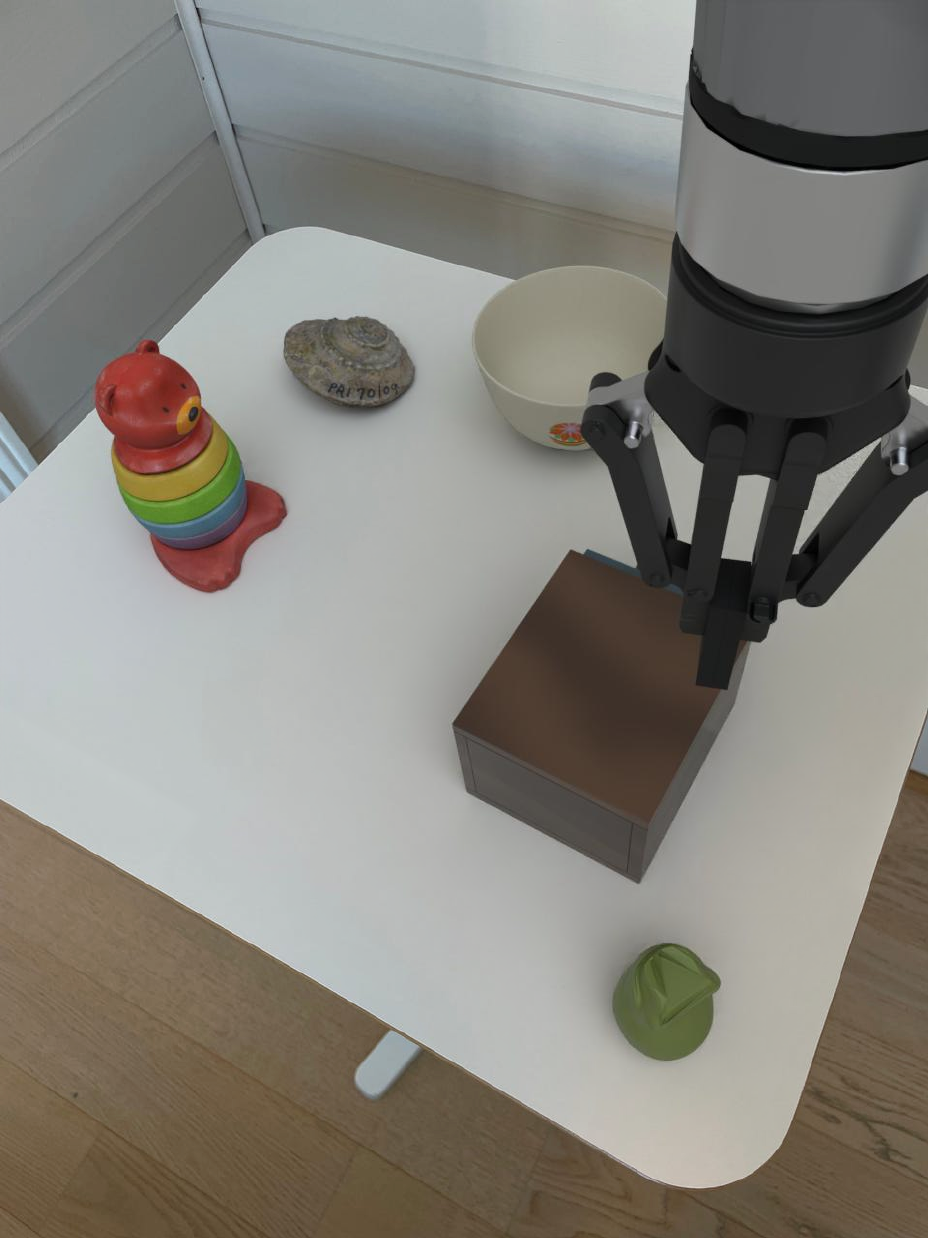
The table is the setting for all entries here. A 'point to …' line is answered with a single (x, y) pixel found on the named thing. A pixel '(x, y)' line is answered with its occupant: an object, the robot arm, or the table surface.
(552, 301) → the bowl
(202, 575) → the stacking bear
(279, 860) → the table surface
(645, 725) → the cabinet
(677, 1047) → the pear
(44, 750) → the table surface
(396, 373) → the fossilized seashell
